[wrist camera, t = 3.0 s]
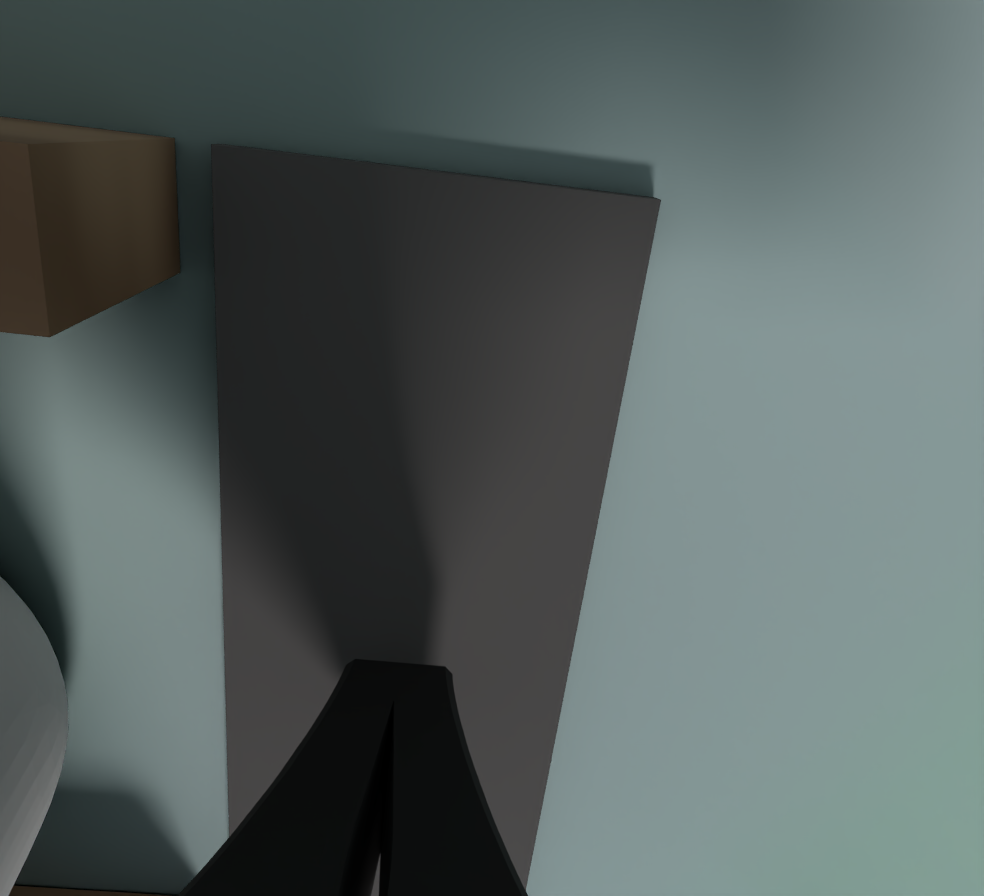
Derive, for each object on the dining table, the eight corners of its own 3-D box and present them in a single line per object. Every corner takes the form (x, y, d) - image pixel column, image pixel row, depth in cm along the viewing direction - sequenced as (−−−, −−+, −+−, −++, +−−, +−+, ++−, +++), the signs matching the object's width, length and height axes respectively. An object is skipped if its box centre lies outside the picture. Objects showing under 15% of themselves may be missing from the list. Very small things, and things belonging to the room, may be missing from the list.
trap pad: (506, 970, 14) (506, 987, 14) (238, 954, 14) (232, 971, 14) (655, 197, 9) (661, 200, 9) (219, 143, 8) (211, 144, 8)
